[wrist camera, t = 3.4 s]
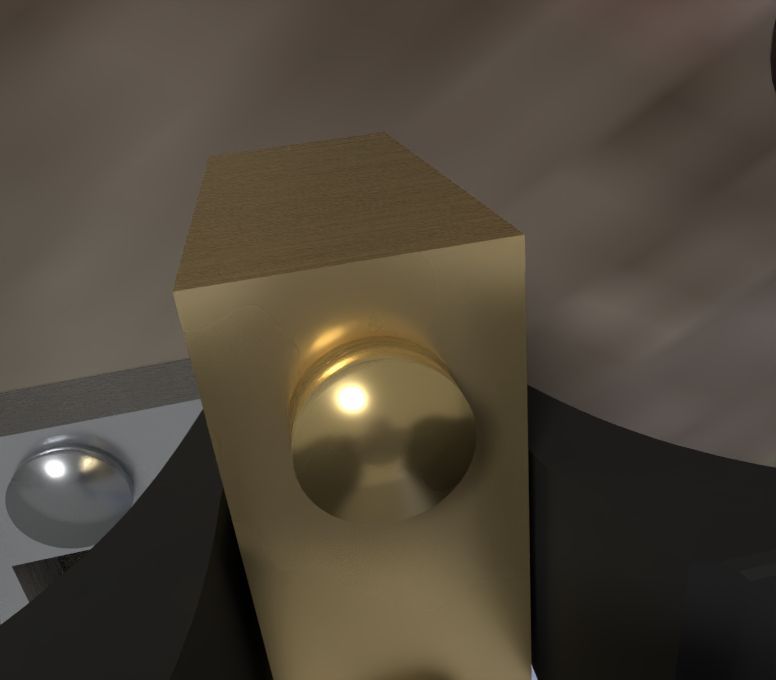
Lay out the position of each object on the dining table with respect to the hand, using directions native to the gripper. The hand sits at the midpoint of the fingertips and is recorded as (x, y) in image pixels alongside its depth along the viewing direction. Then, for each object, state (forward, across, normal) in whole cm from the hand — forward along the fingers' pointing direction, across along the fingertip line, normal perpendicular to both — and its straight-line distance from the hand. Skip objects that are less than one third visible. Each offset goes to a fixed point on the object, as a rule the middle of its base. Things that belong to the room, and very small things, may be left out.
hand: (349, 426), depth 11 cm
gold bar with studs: (+2, 0, 0) cm, 2 cm away
